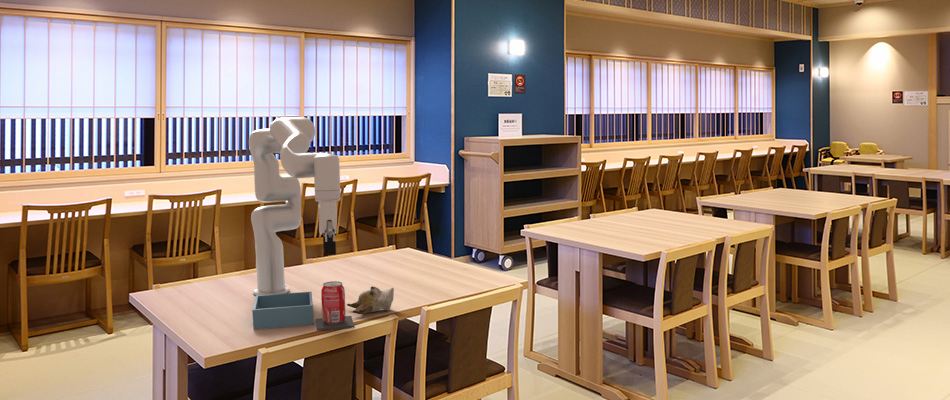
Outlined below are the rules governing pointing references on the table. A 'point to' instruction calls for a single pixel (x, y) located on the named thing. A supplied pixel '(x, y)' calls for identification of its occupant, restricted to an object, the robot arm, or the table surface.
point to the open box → (282, 310)
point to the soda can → (333, 302)
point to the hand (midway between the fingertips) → (329, 251)
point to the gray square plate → (344, 324)
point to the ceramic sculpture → (373, 301)
